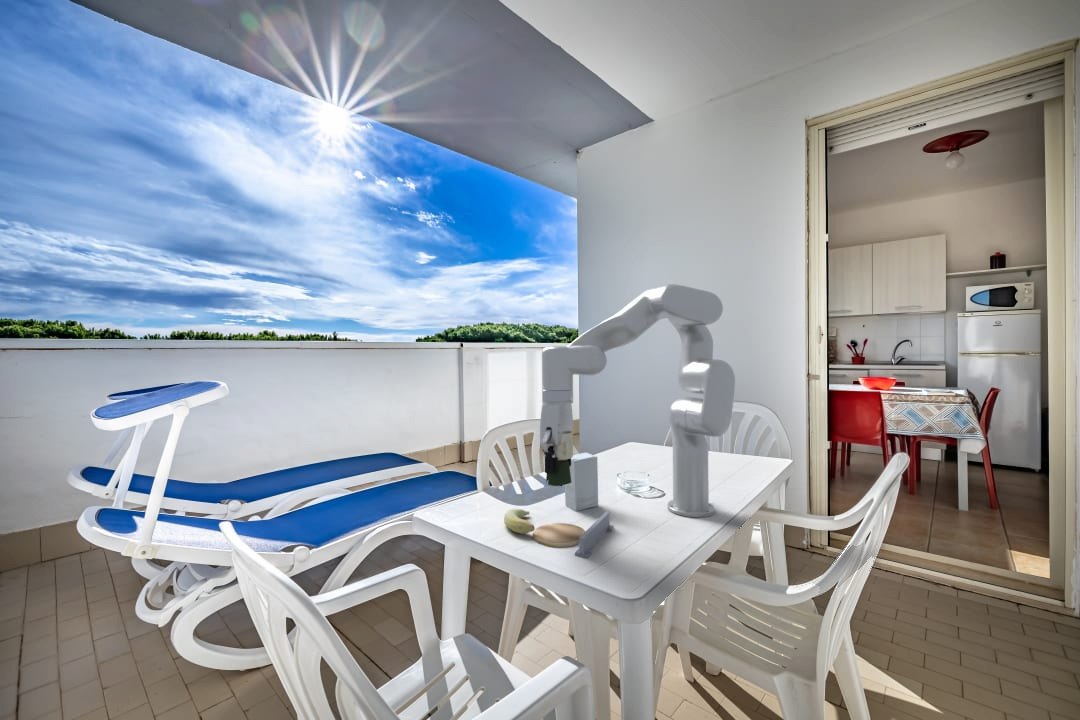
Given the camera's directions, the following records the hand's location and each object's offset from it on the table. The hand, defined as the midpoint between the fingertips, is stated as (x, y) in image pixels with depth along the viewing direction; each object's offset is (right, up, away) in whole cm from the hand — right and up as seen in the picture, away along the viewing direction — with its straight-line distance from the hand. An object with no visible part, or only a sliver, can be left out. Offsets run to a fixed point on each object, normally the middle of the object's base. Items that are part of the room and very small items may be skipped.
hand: (558, 469), depth 110 cm
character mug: (0, -4, 0) cm, 4 cm away
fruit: (-9, -16, +6) cm, 20 cm away
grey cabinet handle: (+9, -16, -3) cm, 19 cm away
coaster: (0, -16, 0) cm, 16 cm away
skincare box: (+8, -16, +21) cm, 28 cm away
